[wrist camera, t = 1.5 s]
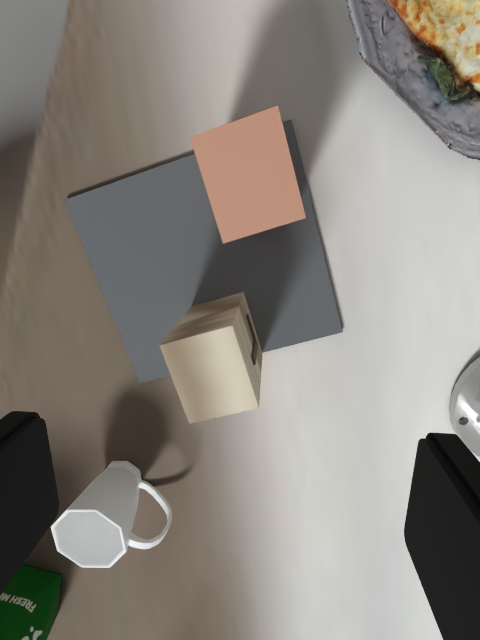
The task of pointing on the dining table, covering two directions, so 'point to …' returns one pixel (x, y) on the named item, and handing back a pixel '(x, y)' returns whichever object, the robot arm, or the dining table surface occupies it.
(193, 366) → the beech block
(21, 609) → the milk carton
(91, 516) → the cup
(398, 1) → the food plate
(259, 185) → the terracotta block
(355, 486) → the dining table surface
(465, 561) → the robot arm
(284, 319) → the rubber mat
